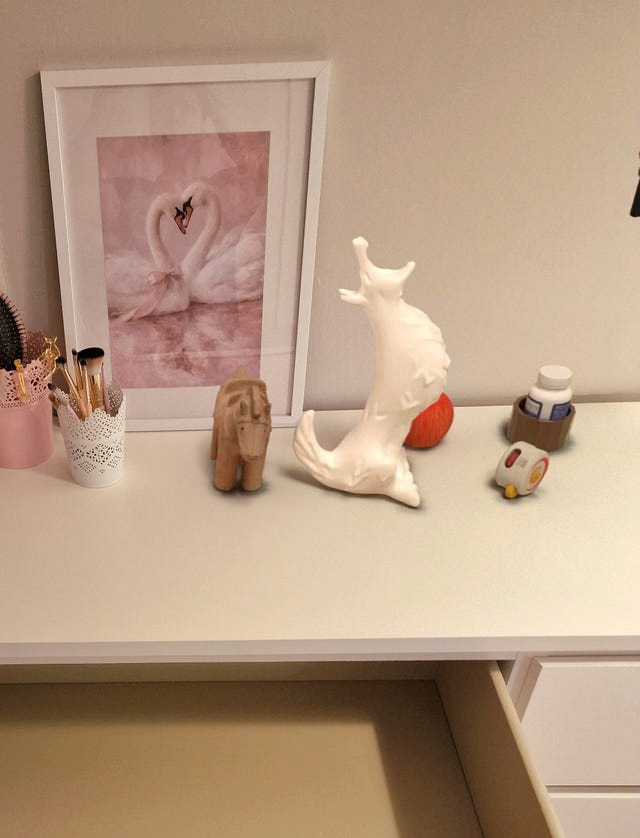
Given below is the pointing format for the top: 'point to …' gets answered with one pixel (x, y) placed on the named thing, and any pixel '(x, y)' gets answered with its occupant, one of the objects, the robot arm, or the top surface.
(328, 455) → the sculpture
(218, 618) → the top surface
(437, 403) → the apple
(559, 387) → the pill bottle
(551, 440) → the holder
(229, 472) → the figurine
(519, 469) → the roller toy
